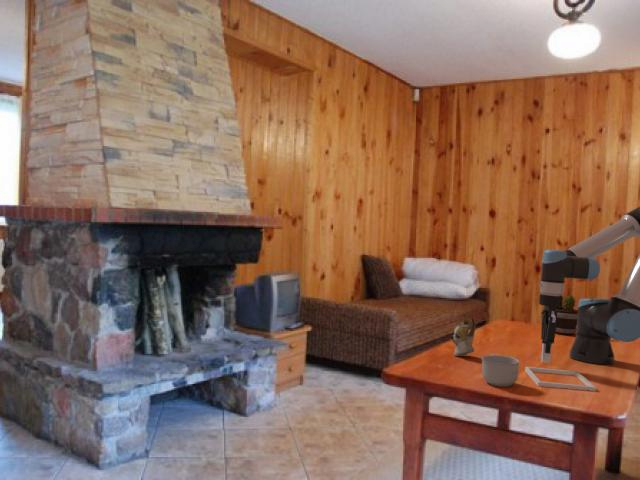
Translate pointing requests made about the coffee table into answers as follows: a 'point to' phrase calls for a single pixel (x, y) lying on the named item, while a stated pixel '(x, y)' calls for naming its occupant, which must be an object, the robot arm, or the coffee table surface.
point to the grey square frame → (559, 385)
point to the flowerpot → (567, 317)
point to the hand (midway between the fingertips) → (545, 361)
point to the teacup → (500, 370)
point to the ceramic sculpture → (464, 337)
